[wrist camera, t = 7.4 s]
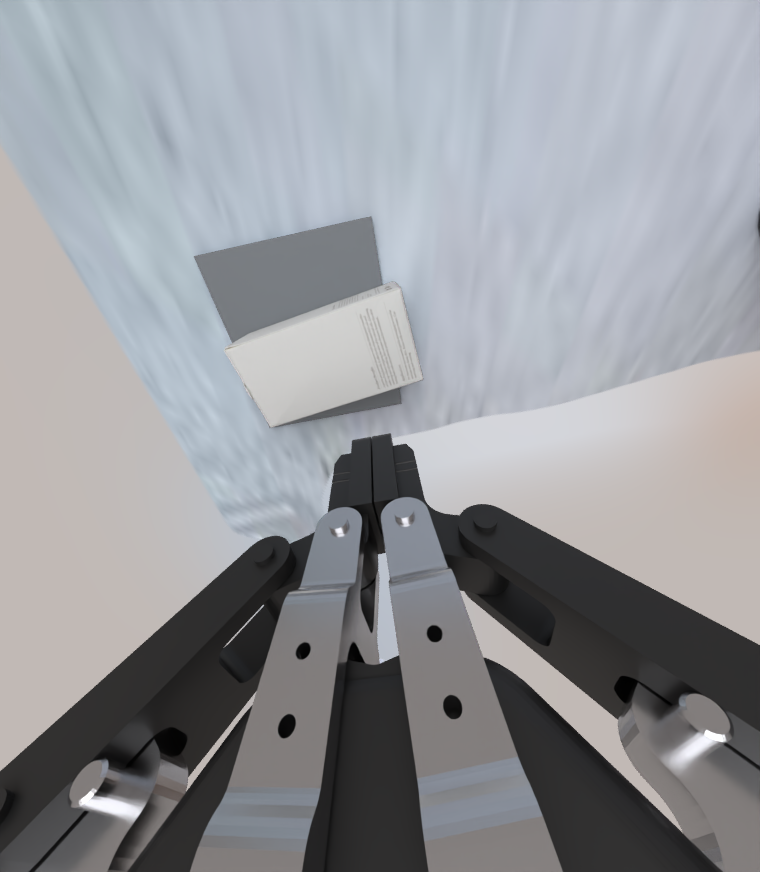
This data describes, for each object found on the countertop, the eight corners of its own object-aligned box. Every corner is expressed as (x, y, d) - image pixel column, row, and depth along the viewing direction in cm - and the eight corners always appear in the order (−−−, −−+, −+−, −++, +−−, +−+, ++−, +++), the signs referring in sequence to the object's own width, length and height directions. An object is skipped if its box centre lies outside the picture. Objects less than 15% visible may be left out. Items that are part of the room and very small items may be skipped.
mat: (371, 216, 26) (371, 216, 26) (401, 401, 36) (401, 403, 35) (197, 256, 27) (193, 256, 27) (271, 425, 37) (269, 427, 36)
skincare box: (396, 278, 28) (246, 328, 30) (402, 286, 23) (218, 345, 25) (416, 362, 33) (283, 401, 35) (425, 386, 27) (266, 430, 29)
